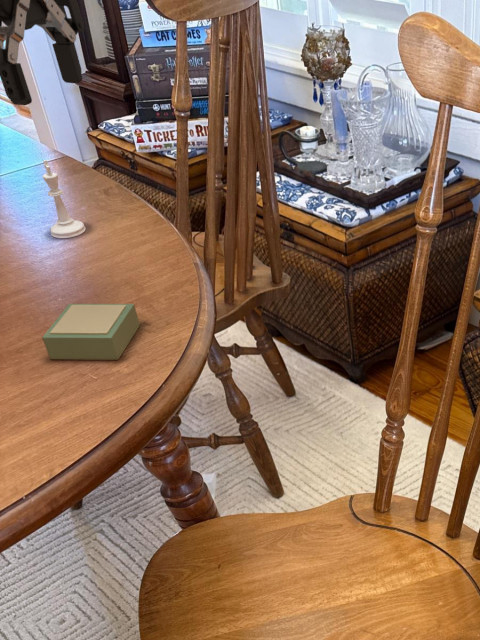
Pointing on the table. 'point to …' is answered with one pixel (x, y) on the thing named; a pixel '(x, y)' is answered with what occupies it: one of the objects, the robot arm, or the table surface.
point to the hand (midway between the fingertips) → (48, 92)
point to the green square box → (92, 331)
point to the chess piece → (61, 209)
